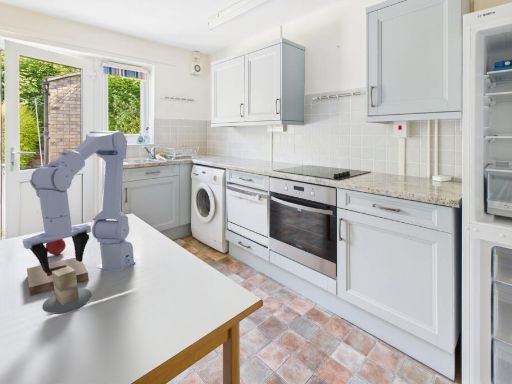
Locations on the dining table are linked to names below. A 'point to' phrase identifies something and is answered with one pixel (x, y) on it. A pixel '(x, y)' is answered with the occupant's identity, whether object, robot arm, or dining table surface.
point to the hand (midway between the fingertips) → (63, 265)
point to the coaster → (55, 306)
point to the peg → (65, 285)
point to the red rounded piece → (56, 246)
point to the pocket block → (44, 281)
